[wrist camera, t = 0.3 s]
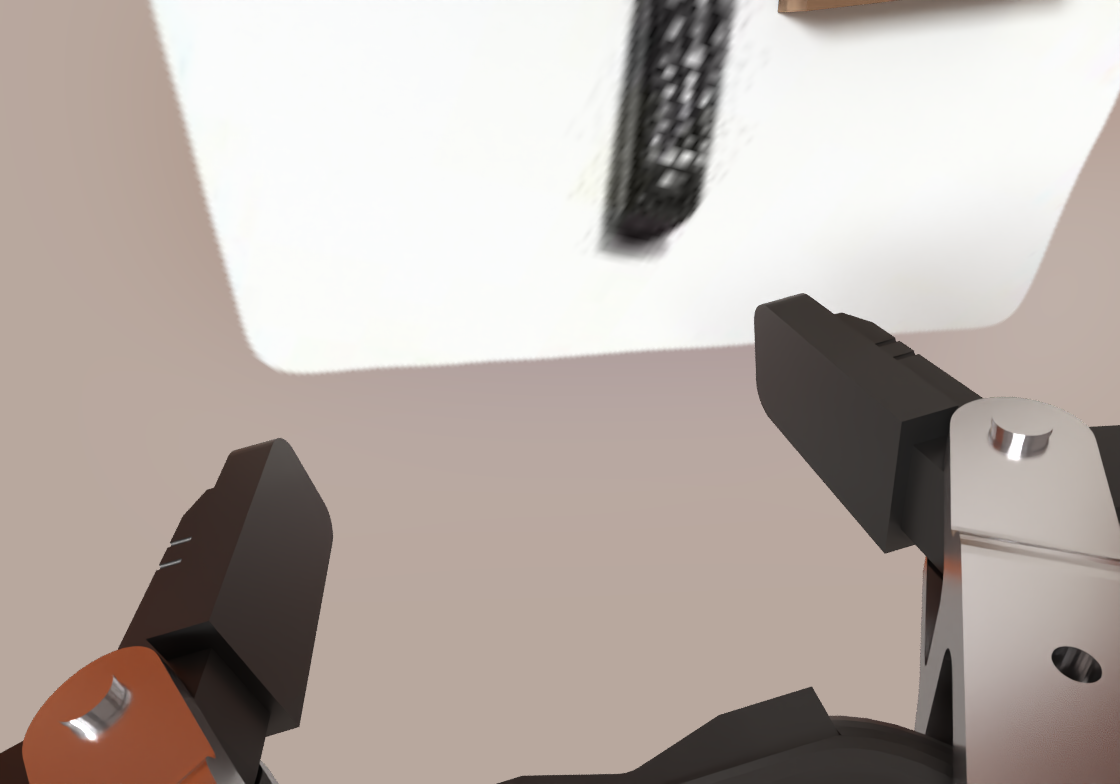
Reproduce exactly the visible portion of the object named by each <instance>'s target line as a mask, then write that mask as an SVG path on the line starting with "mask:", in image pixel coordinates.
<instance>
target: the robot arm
mask: <svg viewBox="0 0 1120 784" xmlns="http://www.w3.org/2000/svg"><path fill="white" fill-rule="evenodd" d="M754 329H755V355H756V357H755V358H756V382H757V390H758V395H759V398H760V401H761V404H762V406H763V408H764V410H765V412H766V414H767V415H768V417H769V418H770V419H771V421H772V422H773V423H774V424H775V425H776V426H777V428H779V430H780V431H781V432H782V433H783V435H784V436H785V437H786V438H787V439H788V441H789V442H790V443H791V444H792V445H793V446H794V448H795V449H796V450H797V451H798V452H799V453H800V455H801V456H802V457H803V458H804V459H805V461H806V462H807V463H808V464H809V465H810V466H811V468H812V469H813V470H814V471H815V472H816V473H817V475H818V476H819V477H820V478H821V479H822V480H823V482H824V483H825V484H826V485H827V486H828V488H830V490H831V491H832V492H833V493H834V495H835V496H836V497H837V498H838V499H839V500H840V502H841V503H842V504H843V505H844V506H845V507H846V509H847V510H848V511H849V512H850V513H851V514H852V516H853V517H854V518H855V519H856V520H857V522H858V523H859V524H860V525H861V526H862V527H863V528H864V530H865V531H866V532H867V533H868V534H869V536H870V537H871V538H872V539H873V540H874V542H875V543H876V544H877V545H878V546H879V547H880V548H881V550H882V551H883V552H884V553H888V552H892V551H895V550H898V549H902V548H905V547H909V546H912V545H916V546H917V547H918V548H919V549H920V550H921V551H922V552H923V553H924V554H925V556H926V557H925V563H924V568H923V586H922V617H921V649H920V651H921V652H920V679H919V694H918V704H917V712H916V720H915V730H914V731H913V730H910V729H907V728H904V727H901V726H898V725H895V724H891V723H886V722H882V721H877V720H872V719H868V718H858V717H848V716H828V714H827V712H826V710H825V709H824V707H823V705H822V703H821V702H820V700H819V698H818V696H817V695H816V693H815V691H814V689H813V688H812V687H809V688H806V689H802V690H799V691H796V692H793V693H790V694H786V695H783V696H780V697H776V698H773V699H770V700H767V701H763V702H760V703H757V704H754V705H750V706H747V707H744V708H741V709H738V710H734V711H731V712H728V713H724V714H721V715H719V716H717V717H715V718H714V719H712V720H711V721H709V722H708V723H706V724H705V725H703V726H702V727H700V728H699V729H697V730H696V731H694V732H692V733H691V734H689V735H688V736H687V737H685V738H683V739H682V740H681V741H679V742H677V743H676V744H674V745H673V746H671V747H670V748H668V749H667V750H665V751H663V752H662V753H660V754H659V755H657V756H656V757H654V758H653V759H651V760H650V761H648V762H646V763H645V764H643V765H642V766H640V767H639V768H637V769H635V770H634V771H631V772H627V773H623V774H598V775H596V774H595V775H542V776H540V775H539V776H520V777H517V778H514V779H511V780H507V781H504V782H501V783H498V784H1120V425H1118V426H1098V427H1088V426H1087V425H1086V424H1085V423H1084V422H1083V421H1081V420H1080V419H1079V418H1077V417H1076V416H1074V415H1072V414H1071V413H1069V412H1067V411H1065V410H1063V409H1061V408H1058V407H1055V406H1053V405H1050V404H1047V403H1043V402H1040V401H1036V400H1031V399H1024V398H1017V397H991V398H984V399H983V398H982V397H980V396H979V395H978V394H976V393H975V392H973V391H972V390H970V389H969V388H967V387H966V386H965V385H963V384H962V383H960V382H958V381H957V380H956V379H954V378H953V377H951V376H950V375H948V374H947V373H946V372H944V371H943V370H941V369H940V368H938V367H937V366H935V365H934V364H933V363H931V362H930V361H928V360H927V359H925V358H924V357H922V356H921V355H919V354H918V355H915V353H914V351H913V350H912V349H911V348H909V347H907V346H906V345H905V344H903V343H902V342H900V341H898V342H896V340H895V337H893V336H892V335H890V334H889V333H887V332H886V331H884V330H883V329H882V328H880V327H879V326H877V325H876V324H874V323H873V322H870V321H867V320H863V319H860V318H857V317H854V316H851V315H848V314H845V313H838V314H833V313H832V312H830V311H829V310H828V309H826V308H825V307H824V306H822V305H821V304H820V303H818V302H817V301H815V300H814V299H813V298H811V297H810V296H808V295H807V294H804V293H801V294H797V295H794V296H790V297H787V298H783V299H779V300H776V301H772V302H769V303H765V304H762V305H759V306H758V307H757V308H756V311H755V316H754ZM332 541H333V531H332V523H331V519H330V515H329V512H328V510H327V507H326V506H325V503H324V502H323V500H322V498H321V497H320V495H319V493H318V491H317V490H316V488H315V486H314V484H313V483H312V481H311V479H310V478H309V476H308V474H307V472H306V471H305V469H304V467H303V466H302V464H301V462H300V461H299V459H298V457H297V455H296V454H295V452H294V450H293V449H292V447H291V446H290V444H289V443H288V442H286V440H284V439H282V438H277V439H274V440H270V441H266V442H263V443H259V444H256V445H252V446H249V447H245V448H241V449H238V450H234V451H233V452H231V453H230V455H229V456H228V458H227V460H226V463H225V465H224V467H223V469H222V471H221V474H220V476H219V478H218V480H217V482H216V485H215V487H214V488H212V489H208V490H206V492H205V493H204V494H203V495H202V496H201V497H200V498H199V499H198V500H197V501H196V502H195V504H194V505H193V506H192V507H191V508H190V509H189V510H188V511H187V512H186V513H185V515H183V517H182V519H181V521H180V523H179V525H178V527H177V529H176V531H175V533H174V535H173V538H172V540H171V542H170V543H171V547H169V548H167V550H166V552H165V554H164V556H163V558H162V560H161V562H160V564H159V565H160V570H157V571H156V572H155V575H154V576H153V578H152V581H151V583H150V585H149V587H148V589H147V591H146V593H145V595H144V597H143V599H142V601H141V603H140V605H139V607H138V609H137V611H136V613H135V615H134V618H133V620H132V622H131V624H130V626H129V628H128V630H127V632H126V634H125V636H124V638H123V640H122V642H121V644H120V646H119V648H118V650H116V651H113V652H111V653H109V654H106V655H104V656H102V657H100V658H98V659H97V660H95V661H93V662H91V663H90V664H88V665H86V666H85V667H83V668H82V669H80V670H79V671H78V672H77V673H75V674H74V675H73V676H71V677H70V678H69V679H68V680H67V681H65V682H64V683H63V684H62V685H61V686H60V687H59V688H58V689H57V690H56V691H55V692H54V693H53V694H52V695H51V696H50V697H49V698H48V699H47V701H46V702H45V703H44V704H43V706H42V707H41V708H40V710H39V711H38V712H37V714H36V715H35V717H34V718H33V720H32V722H31V724H30V726H29V727H28V730H27V732H26V735H25V737H24V740H23V741H22V742H20V743H18V744H17V745H15V746H13V747H11V748H9V749H7V750H6V751H4V752H2V753H0V784H278V782H277V781H276V779H275V778H274V776H273V774H272V773H271V771H270V770H269V769H268V767H267V766H266V765H265V764H264V763H263V762H262V761H261V760H260V759H261V754H262V750H263V746H264V741H265V737H267V736H270V735H274V734H277V733H280V732H284V731H287V730H290V729H294V728H297V727H299V725H300V720H301V714H302V708H303V703H304V697H305V691H306V686H307V681H308V675H309V670H310V664H311V658H312V653H313V647H314V642H315V636H316V631H317V625H318V620H319V614H320V609H321V603H322V597H323V592H324V586H325V581H326V575H327V570H328V564H329V559H330V553H331V548H332Z"/></svg>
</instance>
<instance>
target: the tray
mask: <svg viewBox="0 0 1120 784" xmlns="http://www.w3.org/2000/svg"><path fill="white" fill-rule="evenodd" d="M889 1H897V0H779V5H778V12H798V11H812V10H820V9H829V8H837V7H846V6H854V5H863V4H872V3H880V2H889Z"/></svg>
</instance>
